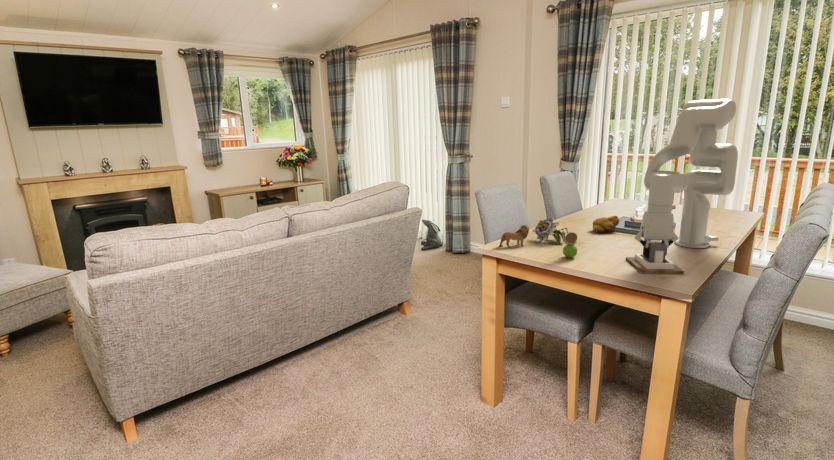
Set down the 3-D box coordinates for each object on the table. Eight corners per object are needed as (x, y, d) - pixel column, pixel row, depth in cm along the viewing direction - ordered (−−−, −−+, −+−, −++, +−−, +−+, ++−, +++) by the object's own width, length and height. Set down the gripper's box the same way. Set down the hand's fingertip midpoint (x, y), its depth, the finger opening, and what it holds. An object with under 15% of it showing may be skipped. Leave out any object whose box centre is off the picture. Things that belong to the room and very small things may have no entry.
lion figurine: (524, 242, 197) (525, 223, 195) (531, 245, 192) (532, 225, 190) (495, 246, 192) (496, 226, 190) (502, 249, 187) (502, 229, 185)
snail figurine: (557, 256, 176) (559, 227, 174) (573, 255, 177) (575, 226, 174) (563, 260, 171) (565, 230, 168) (579, 259, 172) (581, 229, 169)
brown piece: (664, 259, 168) (664, 252, 167) (683, 273, 153) (684, 265, 152) (625, 259, 170) (626, 252, 169) (641, 273, 154) (642, 265, 154)
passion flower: (540, 255, 199) (525, 229, 201) (558, 245, 204) (543, 220, 207) (557, 245, 188) (541, 218, 190) (576, 235, 193) (560, 209, 196)
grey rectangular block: (657, 258, 163) (659, 240, 162) (666, 265, 156) (668, 246, 155) (643, 258, 164) (645, 240, 162) (651, 264, 157) (653, 246, 155)
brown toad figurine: (600, 235, 206) (601, 218, 204) (585, 230, 215) (586, 214, 213) (620, 232, 211) (621, 215, 209) (604, 227, 220) (606, 212, 218)
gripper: (679, 206, 159) (674, 254, 163) (630, 206, 161) (626, 254, 165) (690, 210, 151) (683, 260, 156) (638, 210, 153) (633, 260, 158)
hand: (654, 257), depth 160 cm, fingers closed on grey rectangular block, 4 cm apart
